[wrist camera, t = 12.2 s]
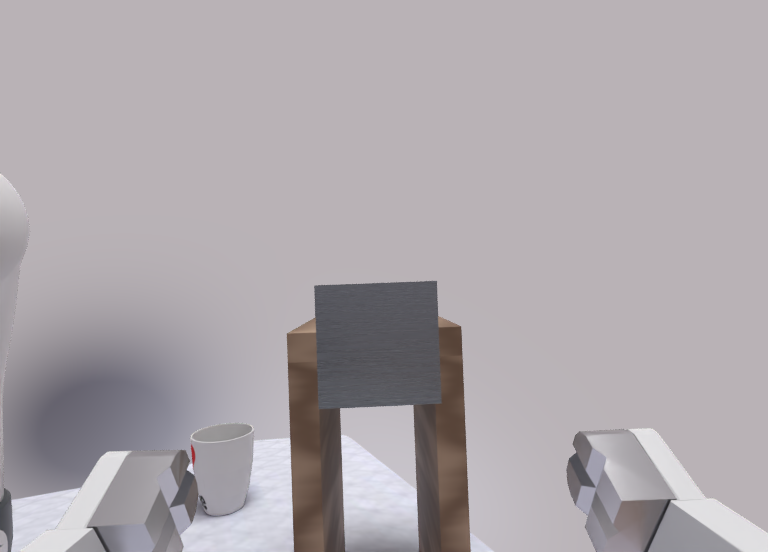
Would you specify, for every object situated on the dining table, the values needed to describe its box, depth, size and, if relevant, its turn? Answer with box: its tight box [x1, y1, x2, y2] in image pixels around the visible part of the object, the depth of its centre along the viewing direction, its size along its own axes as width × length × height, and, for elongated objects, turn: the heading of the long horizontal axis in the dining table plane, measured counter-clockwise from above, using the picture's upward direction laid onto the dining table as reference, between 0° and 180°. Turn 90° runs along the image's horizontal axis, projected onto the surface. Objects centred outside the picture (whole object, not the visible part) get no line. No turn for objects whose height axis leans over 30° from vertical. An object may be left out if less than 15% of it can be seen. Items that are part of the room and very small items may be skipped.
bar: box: [314, 281, 442, 409], centre depth 24 cm, size 3×26×3 cm, turn 2°
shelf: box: [287, 316, 470, 552], centre depth 40 cm, size 12×18×29 cm, turn 2°
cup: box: [190, 423, 254, 516], centre depth 61 cm, size 8×8×10 cm
